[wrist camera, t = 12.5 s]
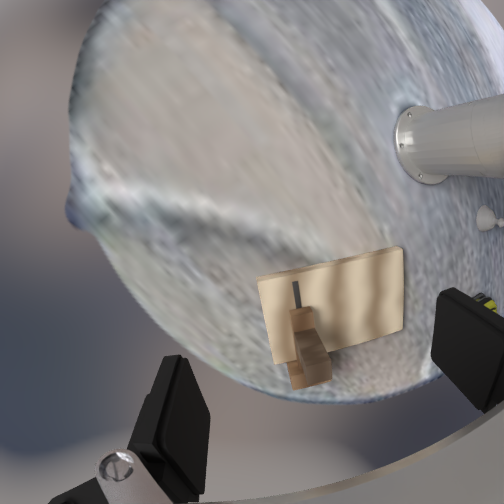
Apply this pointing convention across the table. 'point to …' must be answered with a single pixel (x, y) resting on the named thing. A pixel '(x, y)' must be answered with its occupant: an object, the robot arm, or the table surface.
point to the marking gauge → (307, 352)
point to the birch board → (336, 300)
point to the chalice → (487, 219)
